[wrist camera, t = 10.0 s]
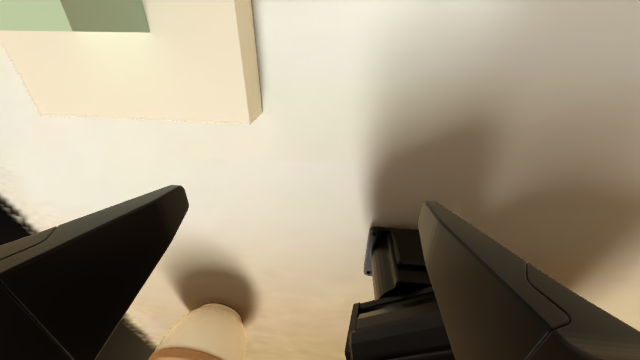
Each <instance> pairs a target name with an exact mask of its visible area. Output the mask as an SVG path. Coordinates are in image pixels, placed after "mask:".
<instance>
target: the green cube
mask: <svg viewBox="0 0 640 360" xmlns="http://www.w3.org/2000/svg"><path fill="white" fill-rule="evenodd" d="M0 31H67V32H143V33H150V29H149V26H148V22H147V18H146V15H145V11H144V8H143V4H142V1H141V0H0Z"/></svg>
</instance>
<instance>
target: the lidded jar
mask: <svg viewBox="0 0 640 360" xmlns="http://www.w3.org/2000/svg"><path fill="white" fill-rule="evenodd" d="M241 321H242V320H241V317H240V315H239V314H238V313H237V312H236V311H235V310H234V309H232V308H230V307H228V306H226V305H222V304H217V303H209V304H205V305H203V306H201V307H200V308H197V309H195V310H192V311H190V312H189V313H187V314H186V315H184V316H183V317H181V318H180V319H179V320H178V321H177V322H176V323H175V324H174V325H173V326H172V327H171V328H170V330H169V331H168V332H167V333H166V335H165V336H164V337H163V339H162V341H161V342H160V344H159V345H158V347H157V348H156V350H155V352H154V353H153V354H152V355H151V356H150V358H149V359H148V360H245V358H246V352H247V336H246V331H245V328H244V326H243V324H242V322H241Z"/></svg>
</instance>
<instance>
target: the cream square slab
mask: <svg viewBox="0 0 640 360" xmlns="http://www.w3.org/2000/svg"><path fill="white" fill-rule="evenodd" d="M141 1H142V4H143V8H144V11H145V15H146V18H147V22H148V26H149V29H150V33H143V32H67V31H0V43H1V44H2V46H3V48H4V50H5V52H6V54H7V55H8V57H9V59H10V61H11V63H12V65H13V66H14V68H15V70H16V72H17V74H18V76H19V77H20V79H21V81H22V83H23V85H24V87H25V88H26V90H27V92H28V94H29V96H30V98H31V99H32V101H33V103H34V105H35V107H36V109H37V110H38V112H39V114H40V115H45V116H68V117H90V118H113V119H136V120H159V121H182V122H205V123H228V124H251V123H252V122H253V121H254V120H255V119H256V118H257V117H259V116H260V115H261V114H262V105H261V95H260V85H259V75H258V65H257V54H256V44H255V34H254V24H253V14H252V4H251V0H141Z"/></svg>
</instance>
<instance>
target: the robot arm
mask: <svg viewBox="0 0 640 360" xmlns="http://www.w3.org/2000/svg"><path fill="white" fill-rule="evenodd" d="M188 208H189V203H188V200H187V196H186V193H185V190H184V188H183V187H182V186H179V185H170V186H167V187H164V188H161V189H159V190H156V191H153V192H150V193H148V194H145V195H142V196H139V197H136V198H134V199H131V200H128V201H125V202H123V203H120V204H117V205H114V206H112V207H109V208H106V209H103V210H100V211H98V212H95V213H92V214H89V215H87V216H84V217H81V218H78V219H75V220H73V221H70V222H67V223H64V224H62V225H59V226H58V227H53V228H50V229H48V230H45V231H42V232H39V233H36V234H33V235H31V236H28V237H25V238H22V239H19V240H16V241H13V242H11V243H8V244H4V245H2V246H0V360H95V359H96V357H97V356H98V354H99V353H100V351H101V350H102V348H103V347H104V345H105V344H106V342H107V341H108V339H109V337H110V336H111V334H112V333H113V331H114V330H115V328H116V327H117V325H118V323H119V322H120V321H121V319H122V317H123V316H124V314H125V313H126V311H127V310H128V308H129V307H130V305H131V304H132V302H133V301H134V299H135V297H136V296H137V294H138V293H139V291H140V290H141V288H142V287H143V285H144V284H145V282H146V281H147V279H148V277H149V276H150V274H151V273H152V271H153V270H154V268H155V267H156V265H157V264H158V262H159V261H160V259H161V257H162V256H163V254H164V253H165V251H166V250H167V248H168V247H169V245H170V243H171V242H172V240H173V238H174V236H175V234H176V232H177V230H178V228H179V226H180V224H181V222H182V220H183V218H184V216H185V214H186V213H187V211H188ZM418 228H419V230H405V229H391V228H377V227H373V228H371V229H370V231H369V237H368V244H367V251H366V257H365V264H364V274H365V275H368V276H373V286H374V295H375V300H373V301H369V302H365V303H361V304H360V303H356V304H354V305H353V310H352V315H351V320H350V326H349V331H348V336H347V342H346V348H345V356H346V360H640V332H639V331H638V330H636V329H634V328H633V327H631V326H629V325H628V324H626V323H624V322H623V321H621V320H619V319H618V318H616V317H614V316H613V315H611V314H609V313H608V312H606V311H604V310H602V309H601V308H599V307H597V306H596V305H594V304H592V303H591V302H589V301H587V300H586V299H584V298H582V297H581V296H579V295H577V294H576V293H574V292H573V291H571V290H569V289H568V288H566V287H564V286H563V285H561V284H559V283H558V282H556V281H555V280H553V279H552V278H550V277H549V276H547V275H546V274H544V273H542V272H541V271H539V270H538V269H536V268H535V267H533V266H532V265H530V264H529V263H527V264H526V261H524V260H523V259H521V258H520V257H518V256H517V255H515V254H514V253H512V252H511V251H509V250H508V249H506V248H505V247H503V246H502V245H500V244H499V243H497V242H496V241H494V240H493V239H491V238H490V237H488V236H487V235H485V234H484V233H482V232H481V231H479V230H478V229H476V228H475V227H473V226H472V225H470V224H469V223H467V222H466V221H464V220H463V219H461V218H460V217H458V216H457V215H455V214H454V213H452V212H451V211H449V210H448V209H446V208H445V207H443V206H442V205H440V204H439V203H437V202H433V201H425V202H423V204H422V207H421V211H420V215H419V219H418ZM373 232H377V233H373Z"/></svg>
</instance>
